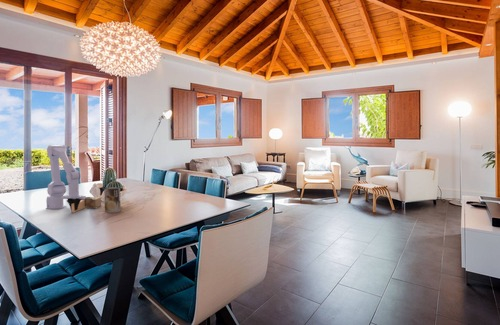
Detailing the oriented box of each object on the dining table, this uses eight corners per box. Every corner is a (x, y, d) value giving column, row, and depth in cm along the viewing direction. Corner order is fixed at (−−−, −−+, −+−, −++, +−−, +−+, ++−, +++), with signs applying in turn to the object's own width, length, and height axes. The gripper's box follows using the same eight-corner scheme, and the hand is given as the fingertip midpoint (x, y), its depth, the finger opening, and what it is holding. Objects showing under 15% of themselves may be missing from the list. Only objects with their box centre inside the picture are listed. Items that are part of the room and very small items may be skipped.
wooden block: (72, 207, 202) (72, 198, 201) (79, 205, 210) (79, 195, 209) (95, 208, 202) (95, 198, 201) (101, 205, 210) (101, 196, 210)
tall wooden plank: (71, 212, 189) (71, 203, 189) (82, 207, 201) (81, 200, 201) (74, 212, 189) (74, 204, 189) (84, 207, 201) (84, 200, 201)
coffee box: (121, 210, 199) (120, 187, 197) (119, 212, 192) (119, 188, 191) (106, 210, 196) (106, 187, 195) (104, 212, 190) (104, 189, 189)
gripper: (58, 190, 185) (59, 210, 186) (81, 190, 185) (81, 211, 187) (65, 188, 192) (66, 208, 193) (87, 188, 192) (87, 208, 194)
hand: (74, 209), depth 190 cm, fingers closed on tall wooden plank, 2 cm apart
